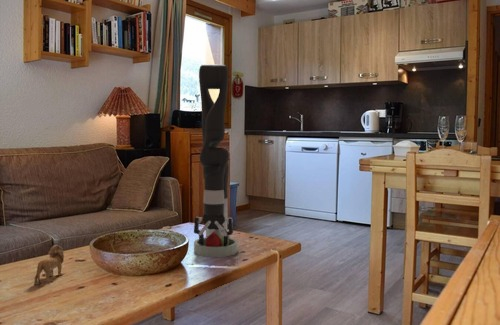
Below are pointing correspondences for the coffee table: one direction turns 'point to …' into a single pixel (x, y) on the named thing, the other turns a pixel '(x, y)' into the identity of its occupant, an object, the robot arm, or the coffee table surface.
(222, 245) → the lime
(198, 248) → the bowl
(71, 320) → the coffee table surface
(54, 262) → the lion figurine
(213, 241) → the onion
